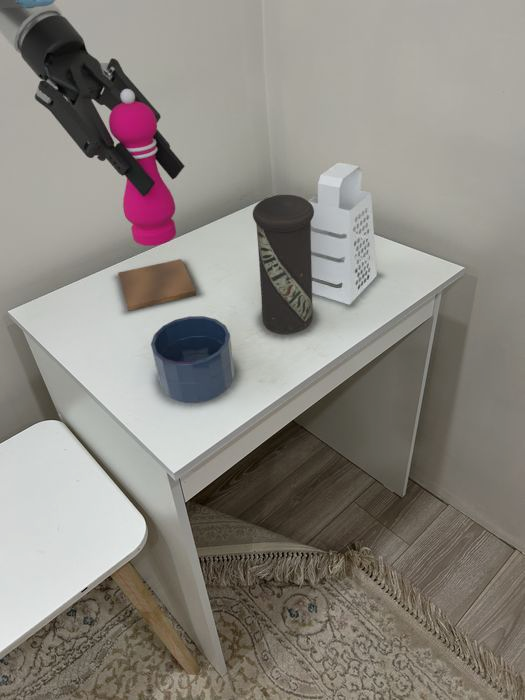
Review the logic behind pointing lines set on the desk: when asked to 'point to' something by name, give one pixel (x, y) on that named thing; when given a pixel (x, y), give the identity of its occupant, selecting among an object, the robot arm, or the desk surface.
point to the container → (285, 262)
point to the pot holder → (156, 284)
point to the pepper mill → (137, 136)
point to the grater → (342, 234)
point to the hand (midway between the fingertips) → (164, 180)
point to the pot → (193, 358)
